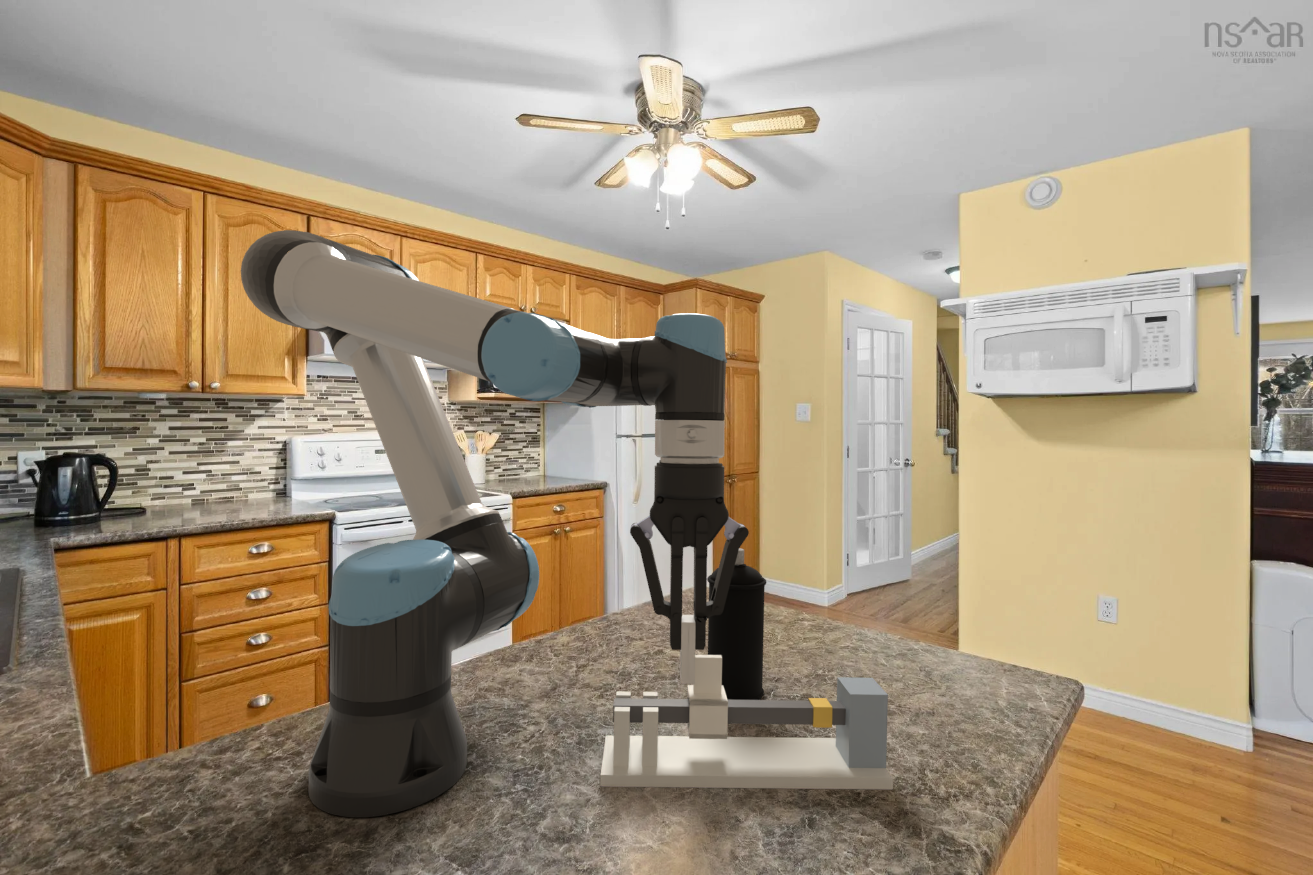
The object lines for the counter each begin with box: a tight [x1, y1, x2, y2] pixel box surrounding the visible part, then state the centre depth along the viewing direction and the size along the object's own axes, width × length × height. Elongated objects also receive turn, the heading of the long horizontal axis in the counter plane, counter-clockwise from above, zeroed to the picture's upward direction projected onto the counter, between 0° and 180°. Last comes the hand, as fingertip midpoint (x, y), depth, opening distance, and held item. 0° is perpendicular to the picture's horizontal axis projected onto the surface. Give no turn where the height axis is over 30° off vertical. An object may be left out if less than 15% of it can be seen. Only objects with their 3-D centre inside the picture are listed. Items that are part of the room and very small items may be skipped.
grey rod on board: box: [599, 676, 894, 791], centre depth 66 cm, size 30×8×9 cm, turn 91°
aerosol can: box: [707, 547, 768, 700], centre depth 85 cm, size 8×8×20 cm
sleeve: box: [686, 654, 729, 739], centre depth 66 cm, size 4×4×8 cm
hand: (687, 678), depth 66 cm, fingers closed
